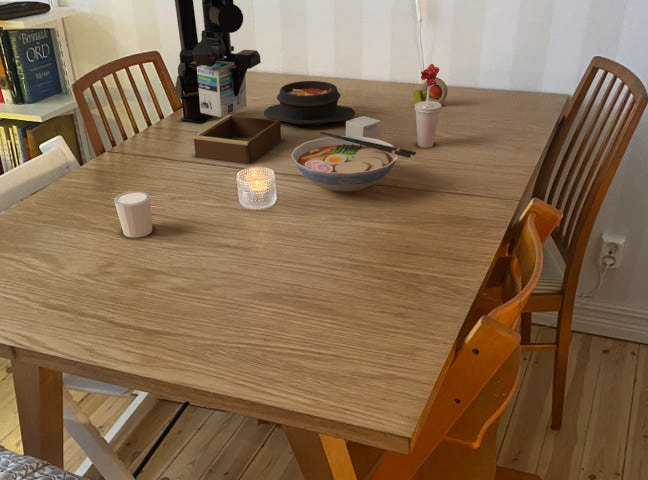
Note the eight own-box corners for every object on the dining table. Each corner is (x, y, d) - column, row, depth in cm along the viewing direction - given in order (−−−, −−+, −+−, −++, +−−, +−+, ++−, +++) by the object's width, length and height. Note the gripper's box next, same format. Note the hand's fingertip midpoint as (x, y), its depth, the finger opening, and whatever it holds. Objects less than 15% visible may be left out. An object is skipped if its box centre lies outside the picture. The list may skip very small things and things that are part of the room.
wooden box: (195, 156, 178) (193, 136, 175) (230, 134, 191) (228, 114, 188) (249, 163, 173) (247, 142, 170) (281, 140, 186) (280, 120, 183)
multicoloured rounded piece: (440, 110, 209) (413, 94, 210) (459, 74, 202) (430, 58, 202) (434, 116, 204) (406, 100, 205) (453, 80, 197) (424, 63, 198)
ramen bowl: (267, 188, 161) (265, 151, 156) (335, 159, 174) (335, 124, 169) (355, 218, 146) (356, 179, 142) (422, 184, 160) (425, 147, 155)
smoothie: (409, 147, 179) (412, 88, 170) (416, 139, 183) (419, 81, 175) (435, 150, 176) (439, 90, 168) (441, 142, 181) (446, 83, 173)
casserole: (360, 111, 203) (361, 80, 199) (348, 133, 189) (348, 99, 184) (273, 107, 209) (272, 77, 204) (255, 128, 194) (252, 96, 189)
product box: (362, 157, 174) (363, 126, 170) (344, 151, 178) (344, 120, 174) (380, 150, 177) (381, 120, 173) (362, 144, 181) (363, 115, 177)
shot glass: (125, 242, 141) (119, 207, 137) (116, 228, 146) (109, 195, 142) (160, 233, 143) (154, 200, 139) (149, 221, 148) (143, 188, 144)
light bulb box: (221, 118, 173) (218, 71, 167) (199, 113, 176) (195, 66, 170) (248, 105, 180) (246, 60, 174) (226, 101, 183) (223, 55, 177)
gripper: (162, 29, 164) (171, 100, 173) (236, 34, 158) (241, 108, 167) (188, 19, 172) (195, 87, 181) (259, 24, 166) (263, 94, 175)
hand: (222, 94), depth 176 cm, fingers closed on light bulb box, 7 cm apart
